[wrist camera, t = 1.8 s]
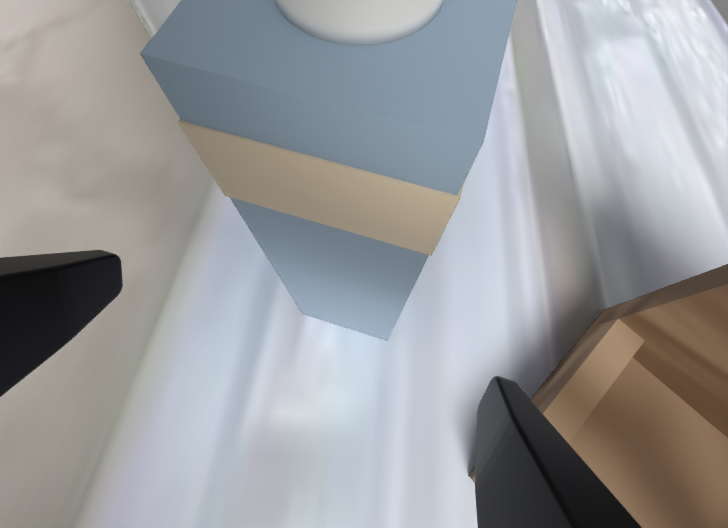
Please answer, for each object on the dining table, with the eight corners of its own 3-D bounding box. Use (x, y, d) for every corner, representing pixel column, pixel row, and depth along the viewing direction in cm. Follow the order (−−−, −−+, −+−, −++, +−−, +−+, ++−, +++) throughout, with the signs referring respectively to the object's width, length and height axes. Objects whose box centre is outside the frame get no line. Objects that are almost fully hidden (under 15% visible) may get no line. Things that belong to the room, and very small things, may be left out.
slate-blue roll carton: (387, 341, 20) (494, 129, 4) (301, 314, 20) (122, 35, 5) (411, 260, 21) (545, -94, 6) (331, 236, 22) (270, -146, 7)
